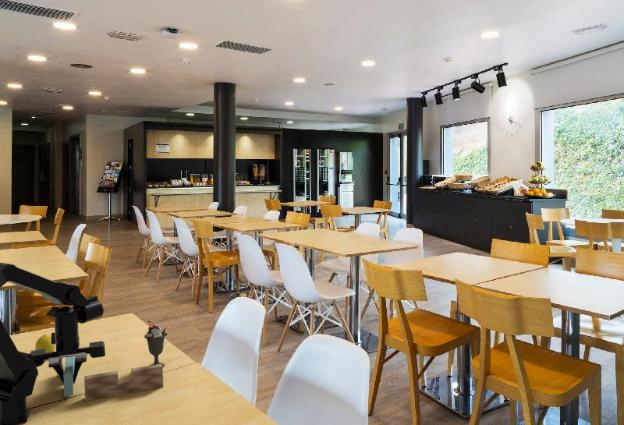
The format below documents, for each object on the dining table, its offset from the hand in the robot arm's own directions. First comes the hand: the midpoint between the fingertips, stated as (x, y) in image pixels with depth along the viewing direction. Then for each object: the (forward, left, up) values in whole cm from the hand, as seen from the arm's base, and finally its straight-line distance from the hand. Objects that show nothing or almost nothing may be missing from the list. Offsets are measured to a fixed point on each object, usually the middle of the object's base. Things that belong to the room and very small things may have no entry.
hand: (69, 383), depth 133 cm
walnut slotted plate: (-6, -14, -2) cm, 16 cm away
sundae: (+8, -24, -3) cm, 25 cm away
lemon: (+30, +8, -3) cm, 31 cm away
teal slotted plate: (+6, 0, -2) cm, 6 cm away
